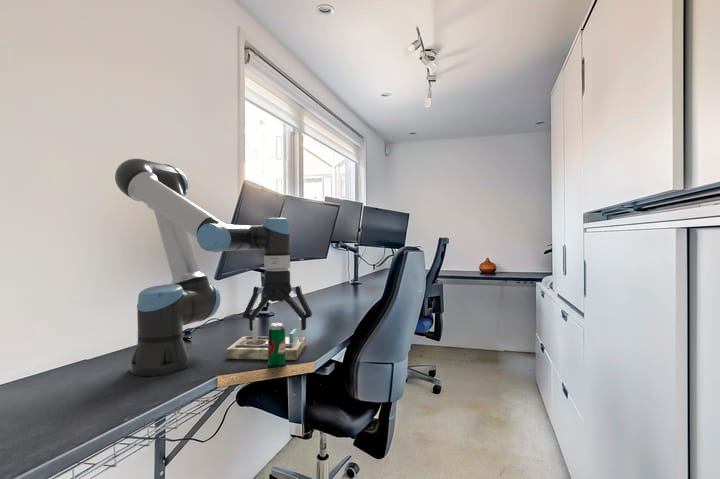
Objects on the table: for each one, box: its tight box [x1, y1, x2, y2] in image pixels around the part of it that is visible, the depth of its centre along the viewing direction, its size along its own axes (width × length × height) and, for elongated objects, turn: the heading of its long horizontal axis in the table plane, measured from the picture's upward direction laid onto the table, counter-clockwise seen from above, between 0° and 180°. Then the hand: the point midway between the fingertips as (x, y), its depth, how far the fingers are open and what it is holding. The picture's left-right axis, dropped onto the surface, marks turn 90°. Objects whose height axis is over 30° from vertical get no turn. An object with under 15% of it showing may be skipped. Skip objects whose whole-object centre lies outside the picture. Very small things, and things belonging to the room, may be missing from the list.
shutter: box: [265, 328, 299, 347], centre depth 130 cm, size 9×9×4 cm
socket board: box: [226, 335, 306, 361], centre depth 130 cm, size 22×16×4 cm
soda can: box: [267, 322, 287, 368], centre depth 117 cm, size 5×5×12 cm
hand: (278, 341), depth 116 cm, fingers open, 13 cm apart
